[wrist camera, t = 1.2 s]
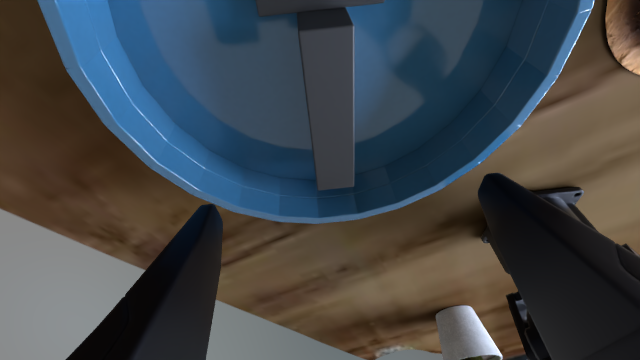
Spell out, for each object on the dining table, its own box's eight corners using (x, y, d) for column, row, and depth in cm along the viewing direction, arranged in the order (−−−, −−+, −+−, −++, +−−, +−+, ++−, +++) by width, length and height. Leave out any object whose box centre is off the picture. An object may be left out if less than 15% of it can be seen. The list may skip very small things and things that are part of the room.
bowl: (666, -395, 8) (876, -549, 5) (467, 163, 22) (494, 205, 19) (-76, -310, 8) (-276, -416, 5) (197, 193, 22) (183, 239, 19)
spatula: (216, -201, 9) (196, -224, 7) (394, -221, 9) (423, -249, 7) (289, 163, 20) (289, 194, 18) (372, 153, 20) (382, 184, 18)
